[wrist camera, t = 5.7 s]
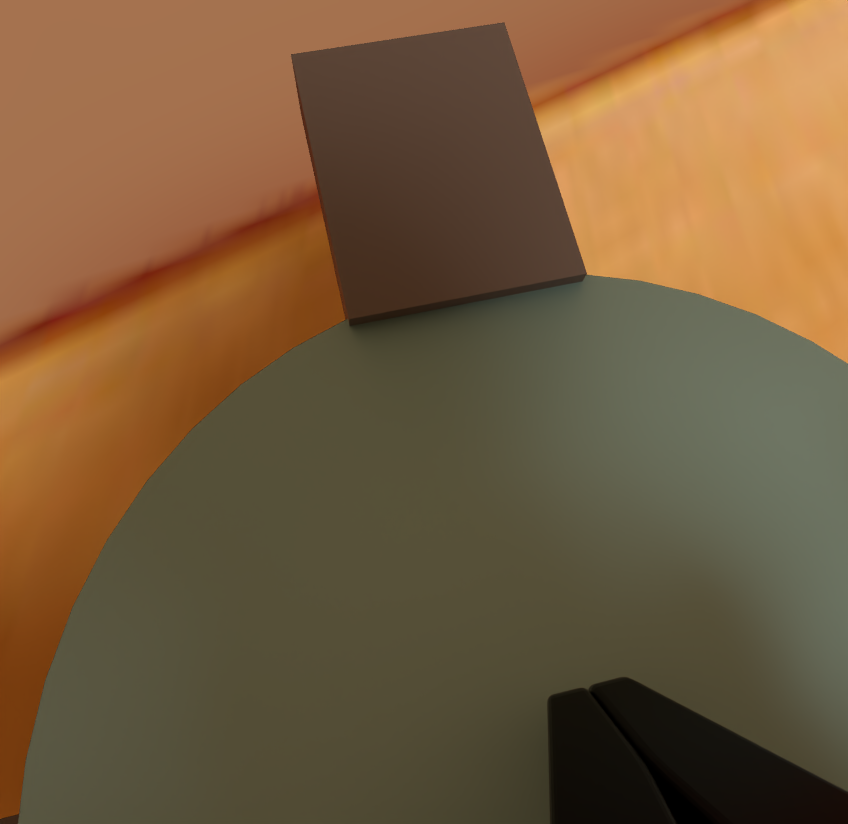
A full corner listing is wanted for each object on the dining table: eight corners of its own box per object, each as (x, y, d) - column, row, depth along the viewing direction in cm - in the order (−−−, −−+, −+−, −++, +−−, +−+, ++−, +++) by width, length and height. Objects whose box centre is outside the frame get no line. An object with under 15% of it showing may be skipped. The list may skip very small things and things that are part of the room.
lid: (1277, 1227, 7) (1440, 1333, 6) (116, 1670, 6) (55, 1899, 5) (749, 43, 12) (787, -21, 11) (7, 163, 11) (-41, 104, 9)
